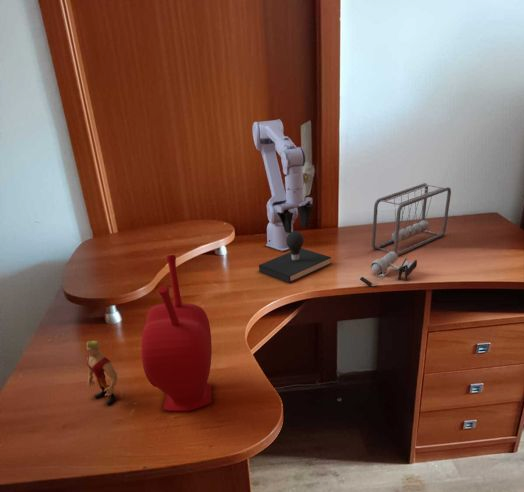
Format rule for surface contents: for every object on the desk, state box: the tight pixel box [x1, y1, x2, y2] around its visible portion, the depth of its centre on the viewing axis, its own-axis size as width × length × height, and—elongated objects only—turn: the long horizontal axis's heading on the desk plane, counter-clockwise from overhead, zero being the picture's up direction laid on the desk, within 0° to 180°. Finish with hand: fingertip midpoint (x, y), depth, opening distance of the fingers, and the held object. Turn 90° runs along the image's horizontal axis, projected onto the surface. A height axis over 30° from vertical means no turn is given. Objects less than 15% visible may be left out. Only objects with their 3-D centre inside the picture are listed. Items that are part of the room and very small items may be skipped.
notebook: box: [258, 247, 332, 284], centre depth 168 cm, size 14×20×2 cm
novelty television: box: [140, 254, 213, 413], centre depth 104 cm, size 21×13×30 cm, turn 4°
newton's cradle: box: [371, 182, 452, 257], centre depth 178 cm, size 30×10×18 cm, turn 130°
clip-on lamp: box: [358, 250, 418, 287], centre depth 157 cm, size 12×6×18 cm
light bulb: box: [286, 230, 305, 261], centre depth 165 cm, size 6×6×10 cm
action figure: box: [86, 340, 118, 406], centre depth 109 cm, size 10×4×15 cm, turn 51°
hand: (296, 229), depth 170 cm, fingers open, 7 cm apart
